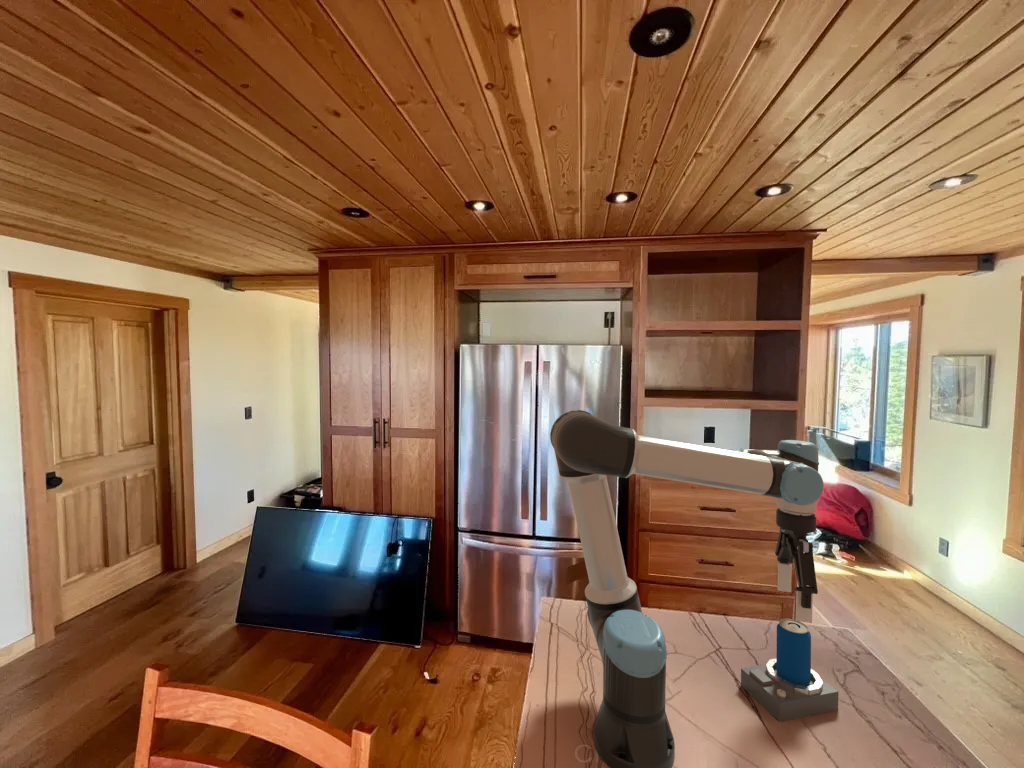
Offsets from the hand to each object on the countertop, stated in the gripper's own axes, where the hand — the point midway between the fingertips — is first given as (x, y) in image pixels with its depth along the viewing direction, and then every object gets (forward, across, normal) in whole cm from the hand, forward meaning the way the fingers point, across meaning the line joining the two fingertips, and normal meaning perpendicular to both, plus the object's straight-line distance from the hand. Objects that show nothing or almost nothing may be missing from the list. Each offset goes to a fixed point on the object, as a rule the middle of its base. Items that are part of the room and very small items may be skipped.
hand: (793, 605), depth 98 cm
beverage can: (+17, 0, 0) cm, 17 cm away
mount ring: (+17, 0, -1) cm, 17 cm away
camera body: (+21, -1, +1) cm, 21 cm away
